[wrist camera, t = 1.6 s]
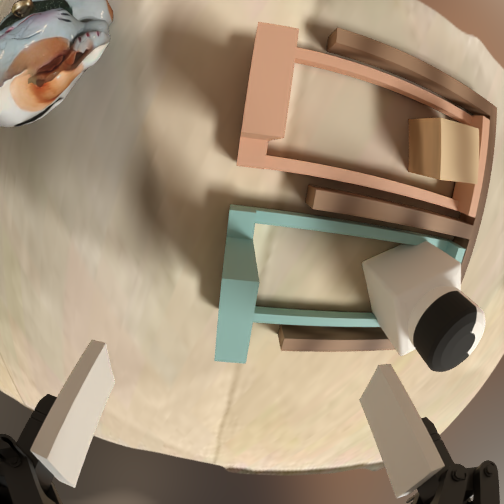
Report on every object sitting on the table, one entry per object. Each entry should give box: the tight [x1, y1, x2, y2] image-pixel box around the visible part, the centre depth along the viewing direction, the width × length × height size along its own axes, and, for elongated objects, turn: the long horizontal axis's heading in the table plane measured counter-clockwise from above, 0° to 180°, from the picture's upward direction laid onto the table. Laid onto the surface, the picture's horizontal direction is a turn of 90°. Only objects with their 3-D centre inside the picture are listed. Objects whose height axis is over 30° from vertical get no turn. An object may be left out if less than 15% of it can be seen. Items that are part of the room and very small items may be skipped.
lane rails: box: [278, 28, 497, 352], centre depth 22 cm, size 19×28×2 cm
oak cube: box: [408, 118, 479, 184], centre depth 19 cm, size 5×5×5 cm
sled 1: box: [237, 22, 490, 218], centre depth 16 cm, size 23×10×9 cm, turn 82°
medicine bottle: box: [362, 241, 485, 372], centre depth 21 cm, size 7×7×12 cm
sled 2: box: [215, 204, 466, 363], centre depth 21 cm, size 23×10×9 cm, turn 82°
